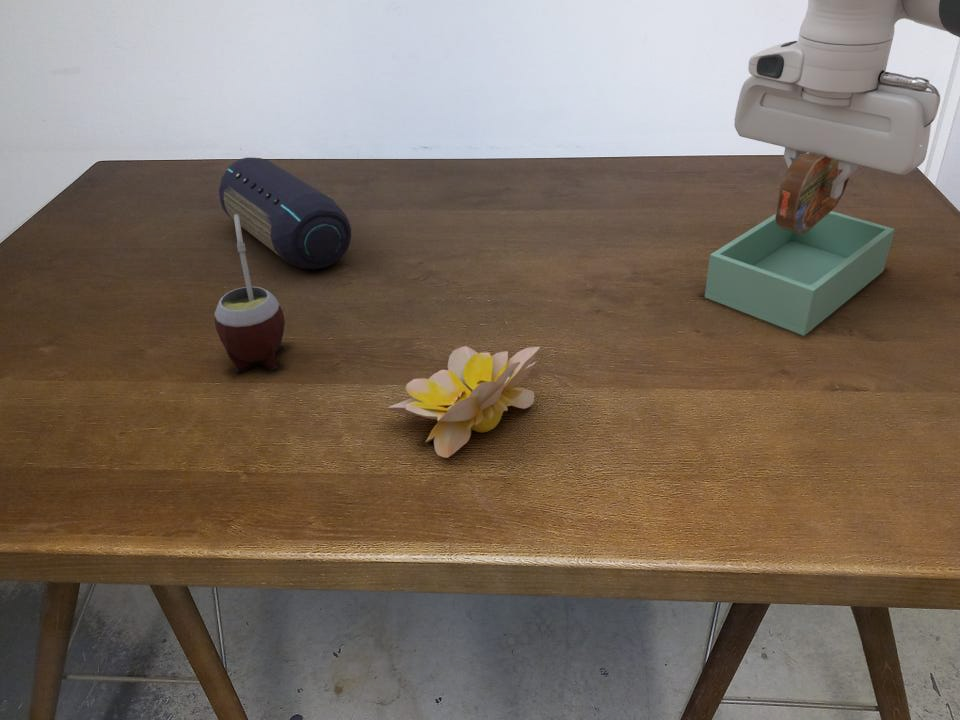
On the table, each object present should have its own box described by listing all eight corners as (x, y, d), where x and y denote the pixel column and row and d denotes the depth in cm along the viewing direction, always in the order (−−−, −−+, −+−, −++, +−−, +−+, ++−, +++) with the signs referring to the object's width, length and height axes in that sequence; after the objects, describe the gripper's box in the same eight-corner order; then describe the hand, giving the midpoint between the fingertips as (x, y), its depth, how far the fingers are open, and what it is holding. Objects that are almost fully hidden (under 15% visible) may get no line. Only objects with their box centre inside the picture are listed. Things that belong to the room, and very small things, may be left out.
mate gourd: (252, 387, 85) (220, 260, 77) (209, 361, 90) (174, 238, 81) (308, 355, 90) (283, 232, 81) (264, 332, 94) (236, 212, 86)
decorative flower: (487, 343, 87) (493, 273, 80) (561, 408, 82) (575, 339, 74) (372, 411, 80) (367, 341, 73) (445, 487, 75) (448, 419, 67)
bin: (788, 241, 107) (795, 200, 104) (883, 272, 100) (895, 228, 96) (704, 298, 96) (709, 254, 93) (803, 337, 89) (813, 290, 85)
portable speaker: (218, 226, 119) (201, 160, 114) (280, 206, 124) (267, 142, 118) (296, 289, 102) (281, 216, 97) (364, 264, 107) (354, 193, 102)
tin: (790, 246, 88) (809, 172, 83) (763, 236, 90) (780, 164, 85) (845, 200, 97) (865, 131, 92) (820, 192, 99) (838, 124, 94)
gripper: (958, 74, 79) (921, 207, 87) (766, 43, 91) (748, 162, 99) (931, 89, 75) (895, 226, 83) (735, 55, 88) (720, 177, 96)
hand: (814, 191), depth 91 cm, fingers closed on tin, 2 cm apart
